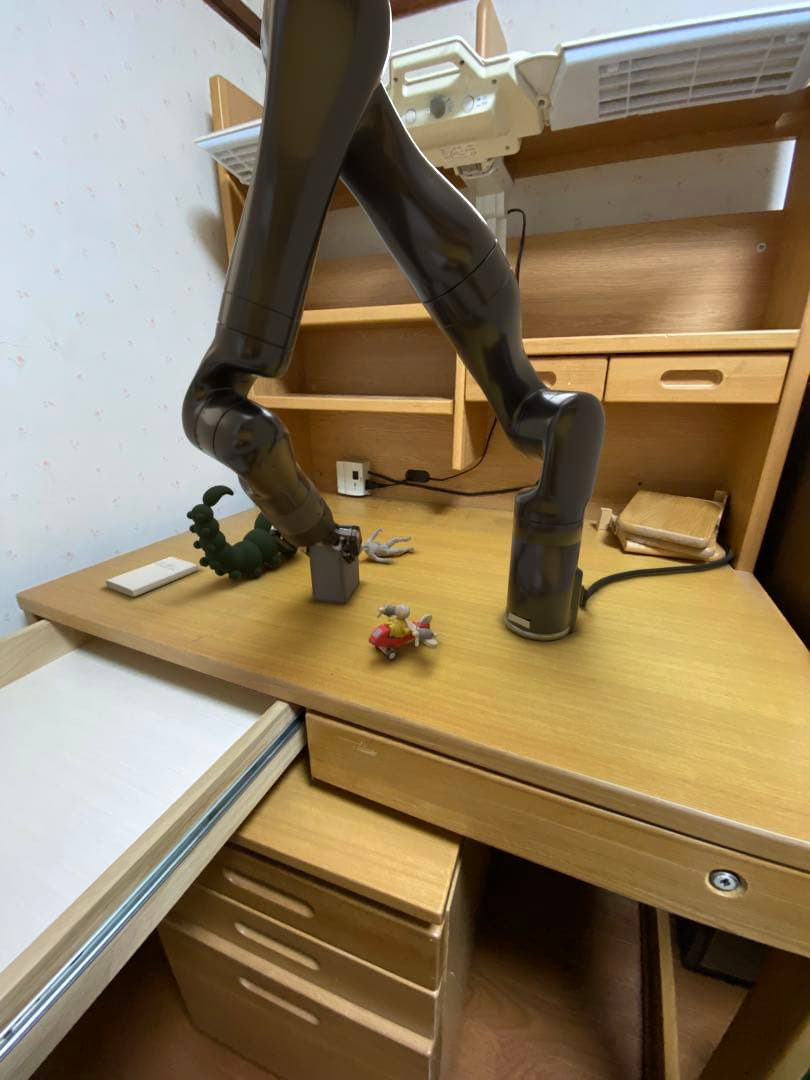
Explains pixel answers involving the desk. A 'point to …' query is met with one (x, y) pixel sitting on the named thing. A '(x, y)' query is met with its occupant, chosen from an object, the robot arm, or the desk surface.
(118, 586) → the hard drive
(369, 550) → the soldier figure
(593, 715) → the desk surface
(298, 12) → the robot arm
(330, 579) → the dark grey rectangular box
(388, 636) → the toy airplane
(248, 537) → the toy figurine
